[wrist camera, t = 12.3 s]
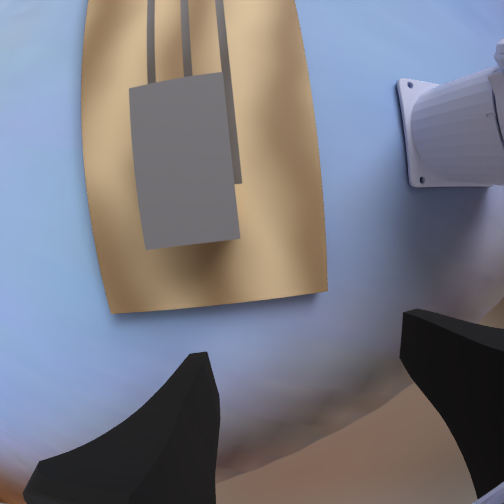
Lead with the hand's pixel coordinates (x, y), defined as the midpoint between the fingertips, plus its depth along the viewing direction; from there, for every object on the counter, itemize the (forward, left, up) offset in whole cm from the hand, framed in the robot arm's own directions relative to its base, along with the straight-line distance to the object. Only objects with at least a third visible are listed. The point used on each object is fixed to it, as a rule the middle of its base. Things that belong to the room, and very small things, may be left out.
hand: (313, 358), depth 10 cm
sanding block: (+4, -7, -8) cm, 12 cm away
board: (+4, -12, -10) cm, 16 cm away
